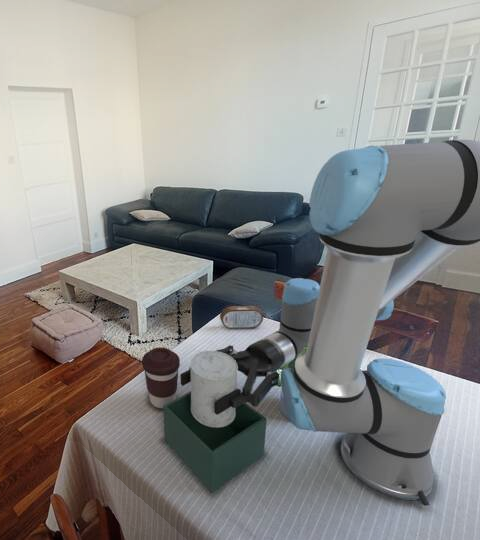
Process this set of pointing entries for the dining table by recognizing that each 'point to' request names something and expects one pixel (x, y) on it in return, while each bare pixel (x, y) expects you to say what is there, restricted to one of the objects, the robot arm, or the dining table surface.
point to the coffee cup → (161, 375)
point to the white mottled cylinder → (212, 386)
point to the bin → (214, 441)
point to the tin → (241, 317)
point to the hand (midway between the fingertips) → (197, 393)
